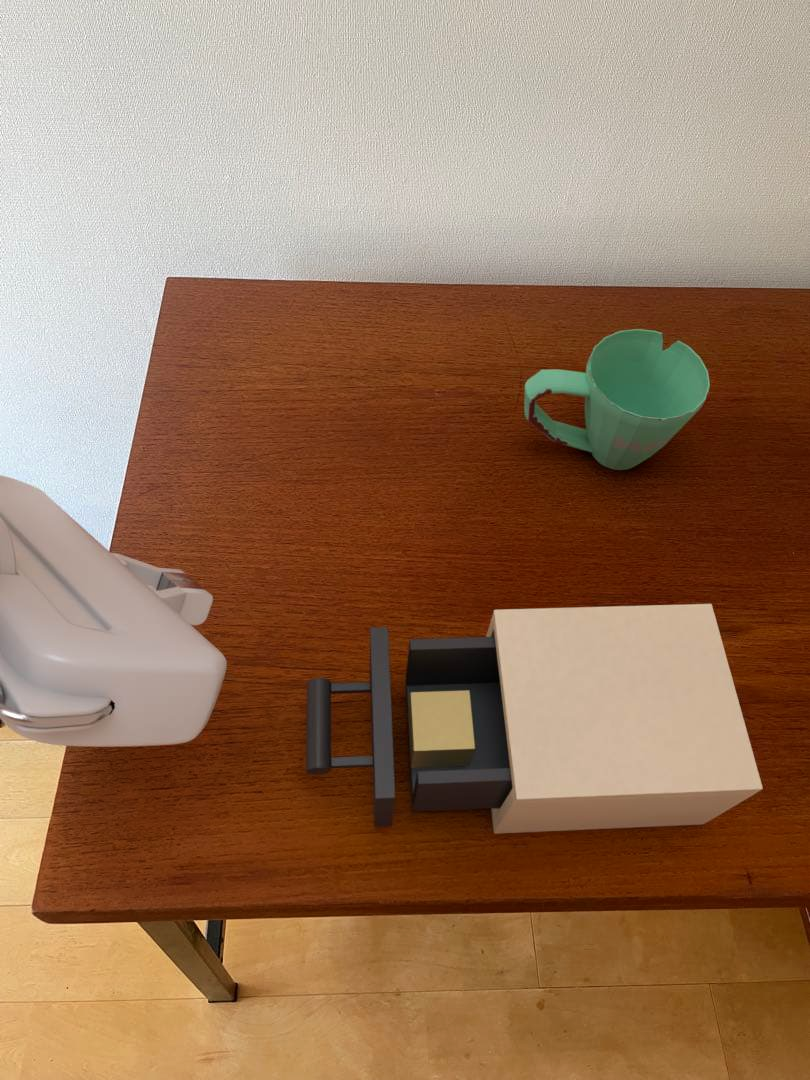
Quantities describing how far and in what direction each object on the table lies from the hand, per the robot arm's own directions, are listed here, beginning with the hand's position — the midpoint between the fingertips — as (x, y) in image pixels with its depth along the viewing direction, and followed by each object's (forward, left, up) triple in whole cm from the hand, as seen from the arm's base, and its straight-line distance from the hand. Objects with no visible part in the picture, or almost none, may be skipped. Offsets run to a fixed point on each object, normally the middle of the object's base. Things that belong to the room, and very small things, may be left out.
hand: (195, 597), depth 41 cm
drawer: (+14, -2, -19) cm, 24 cm away
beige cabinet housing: (+25, -2, -20) cm, 32 cm away
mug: (+30, +25, -20) cm, 44 cm away
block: (+14, -2, -18) cm, 23 cm away
